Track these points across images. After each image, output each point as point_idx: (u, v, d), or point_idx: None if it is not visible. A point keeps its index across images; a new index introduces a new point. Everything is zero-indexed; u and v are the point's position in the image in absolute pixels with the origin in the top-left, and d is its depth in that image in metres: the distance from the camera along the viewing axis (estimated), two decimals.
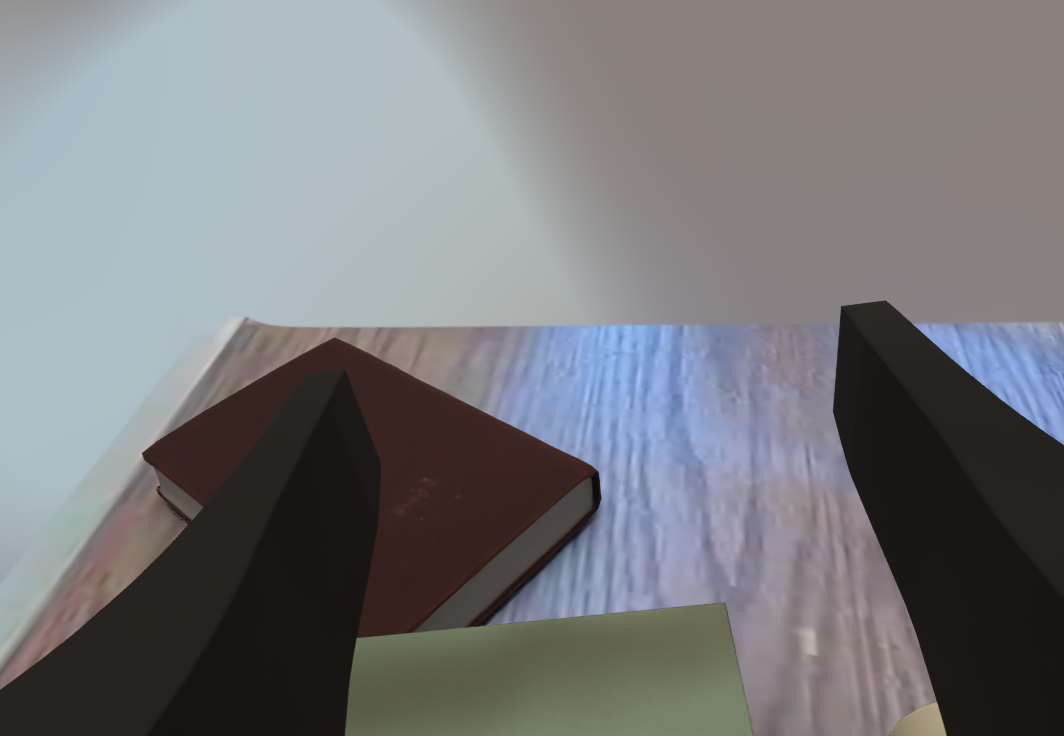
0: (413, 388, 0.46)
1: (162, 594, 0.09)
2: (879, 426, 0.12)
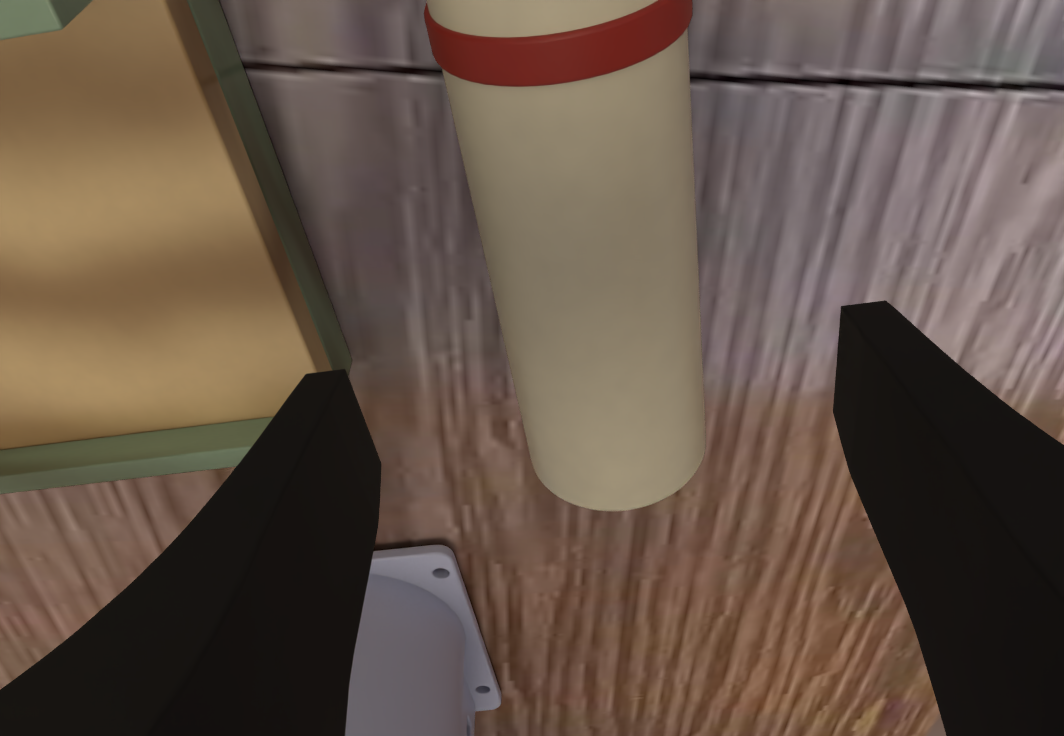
0: None
1: (162, 594, 0.09)
2: (879, 426, 0.12)
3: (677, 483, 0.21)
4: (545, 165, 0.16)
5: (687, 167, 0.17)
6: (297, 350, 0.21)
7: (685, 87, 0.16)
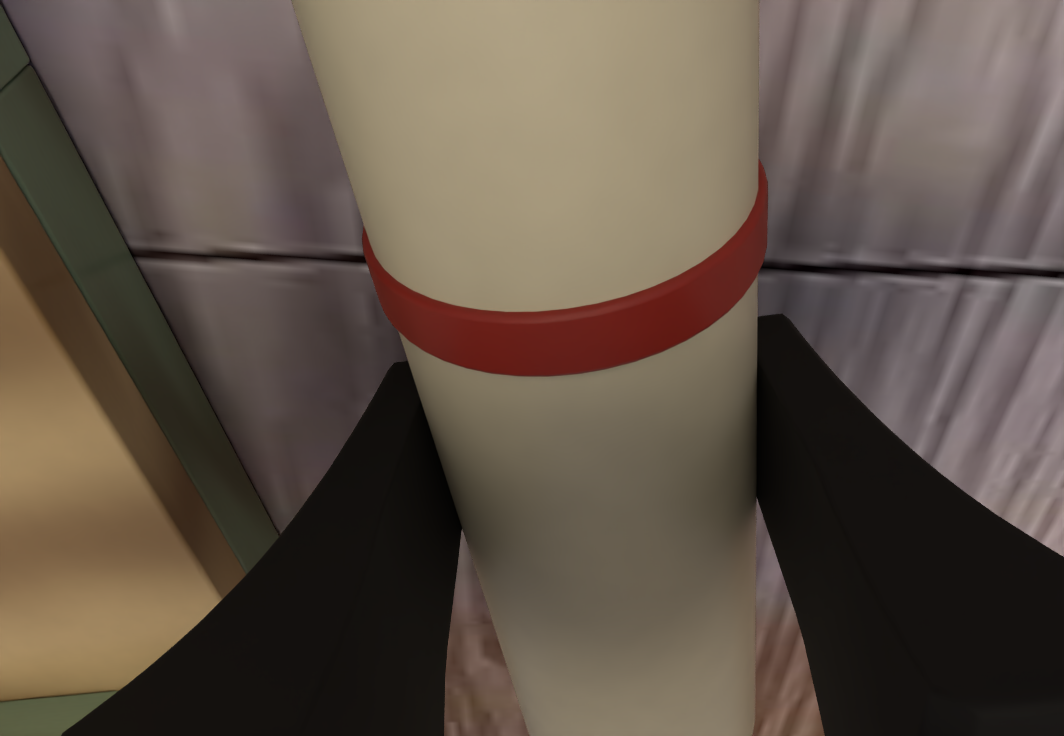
0: None
1: (285, 581, 0.09)
2: (768, 438, 0.12)
3: None
4: (538, 467, 0.10)
5: (749, 439, 0.12)
6: None
7: (752, 342, 0.11)
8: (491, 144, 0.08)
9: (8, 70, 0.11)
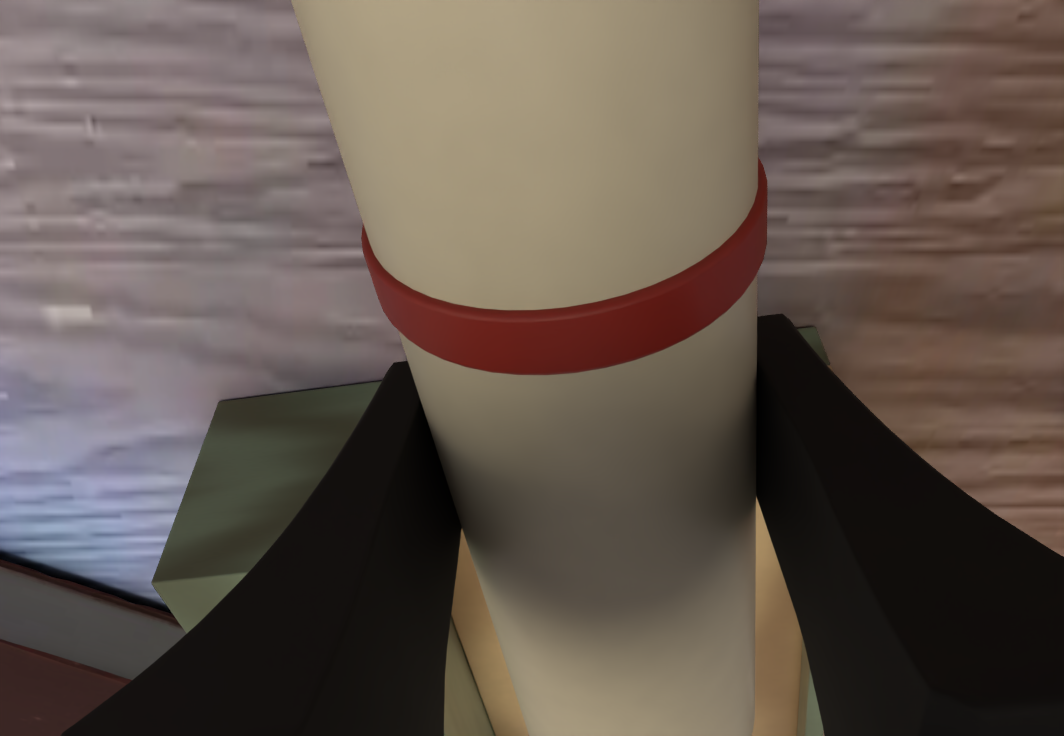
0: None
1: (284, 580, 0.09)
2: (768, 439, 0.12)
3: None
4: (537, 466, 0.10)
5: (749, 438, 0.12)
6: None
7: (751, 341, 0.11)
8: (489, 142, 0.08)
9: None
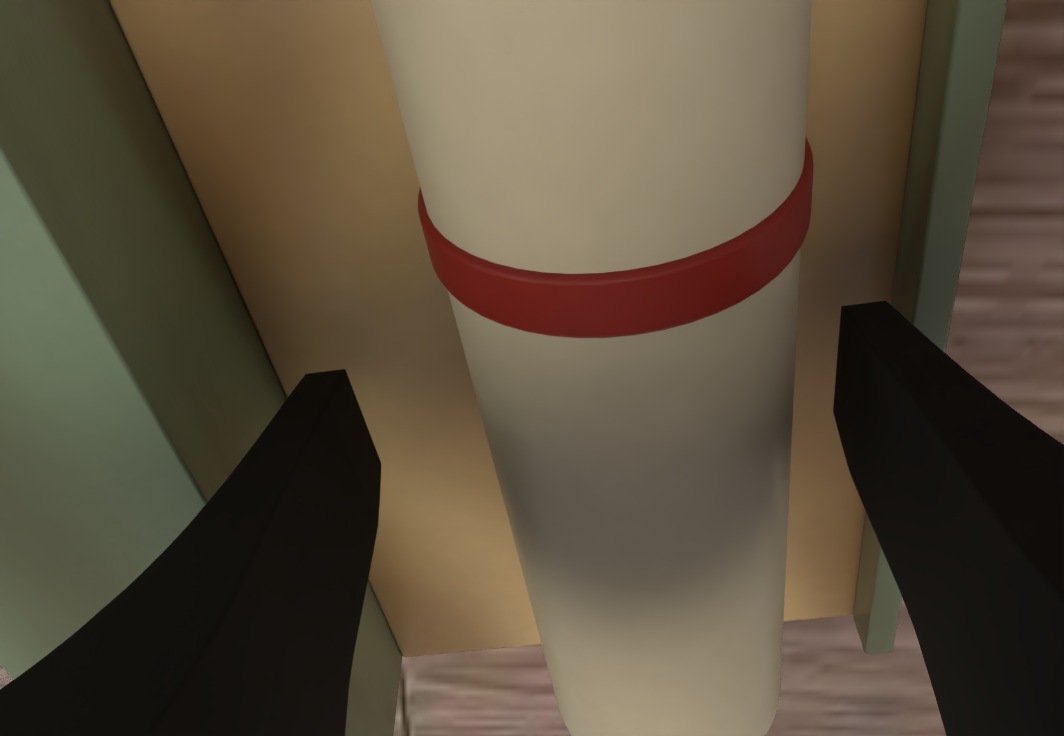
0: None
1: (162, 594, 0.09)
2: (879, 426, 0.12)
3: (765, 729, 0.17)
4: (640, 429, 0.10)
5: (794, 376, 0.12)
6: None
7: None
8: (628, 99, 0.08)
9: None
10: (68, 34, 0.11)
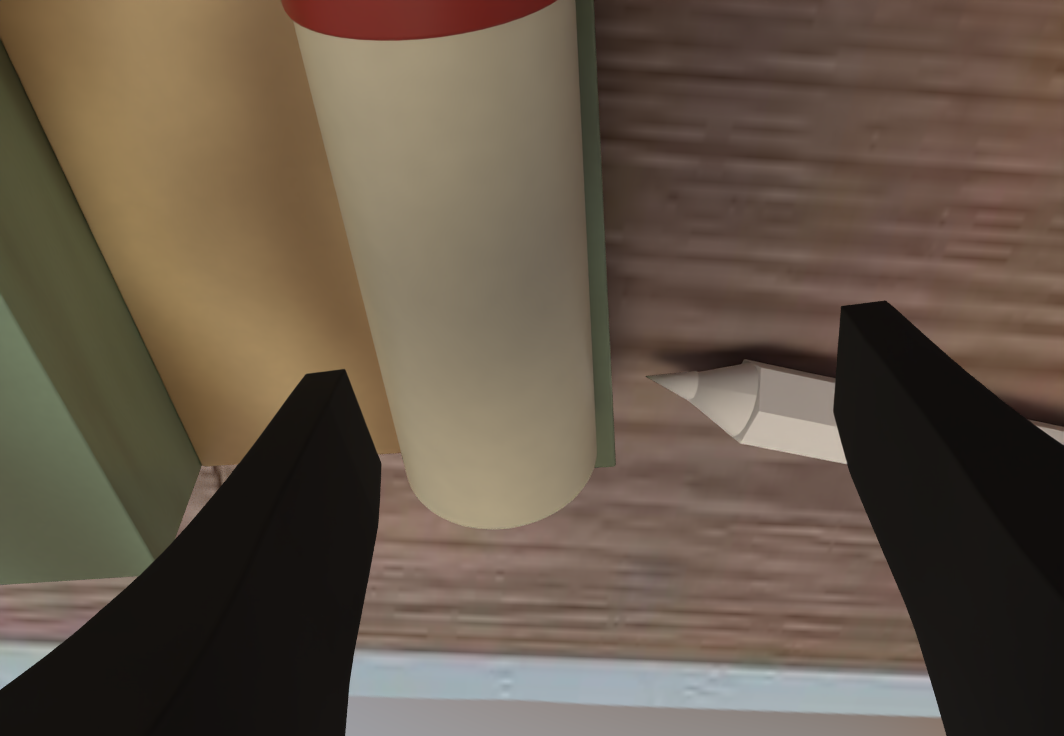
0: None
1: (162, 593, 0.09)
2: (879, 426, 0.12)
3: None
4: (561, 94, 0.14)
5: None
6: None
7: None
8: None
9: None
10: None
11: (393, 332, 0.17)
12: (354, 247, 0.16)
